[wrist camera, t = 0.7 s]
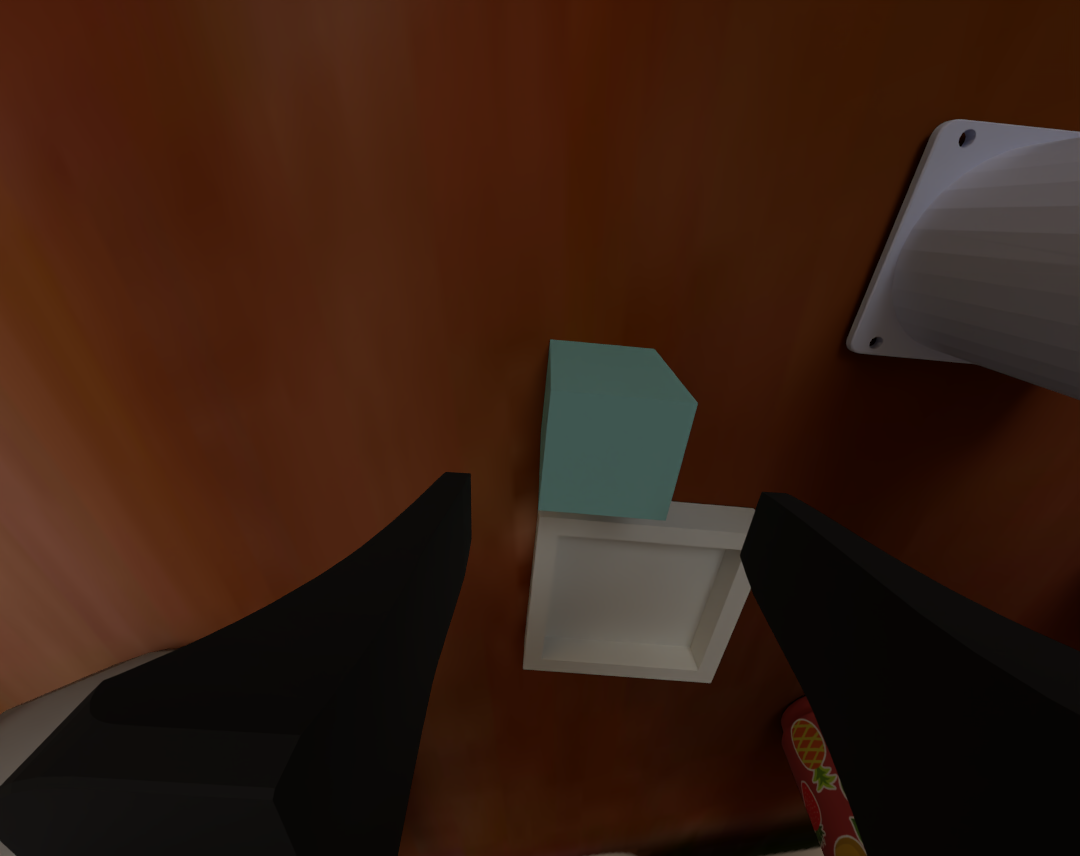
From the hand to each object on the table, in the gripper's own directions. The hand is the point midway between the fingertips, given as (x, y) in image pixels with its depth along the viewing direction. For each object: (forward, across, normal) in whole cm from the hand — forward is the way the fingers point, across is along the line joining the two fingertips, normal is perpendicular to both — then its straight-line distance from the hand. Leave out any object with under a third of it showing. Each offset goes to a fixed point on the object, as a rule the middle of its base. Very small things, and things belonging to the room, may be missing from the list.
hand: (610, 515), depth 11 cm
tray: (+9, -4, +12) cm, 15 cm away
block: (+10, 0, 0) cm, 10 cm away
